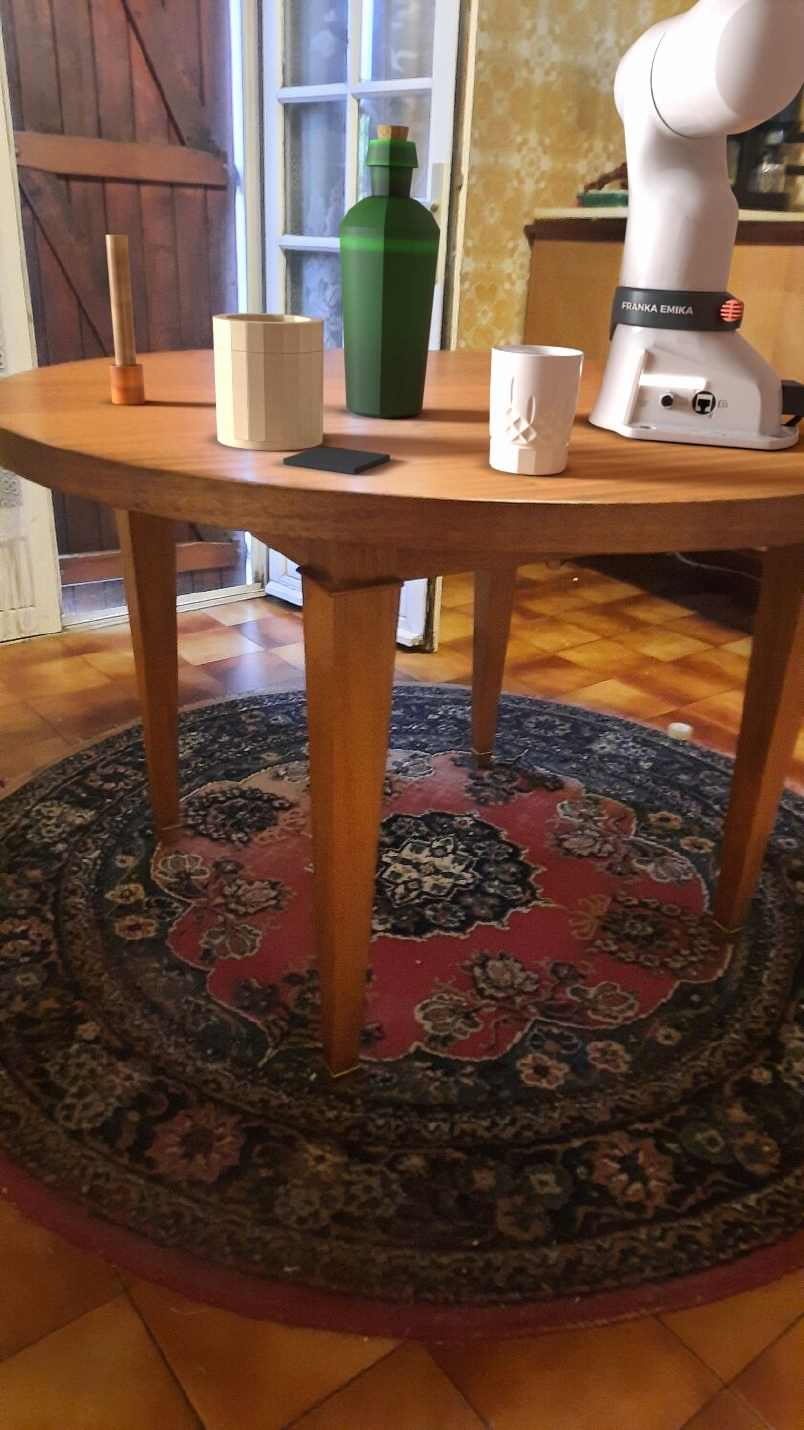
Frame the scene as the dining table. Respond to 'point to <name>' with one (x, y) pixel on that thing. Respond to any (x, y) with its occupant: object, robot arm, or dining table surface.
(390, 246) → the bottle
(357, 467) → the mat
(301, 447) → the jar
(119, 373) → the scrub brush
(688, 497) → the dining table surface
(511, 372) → the white cup
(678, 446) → the dining table surface
